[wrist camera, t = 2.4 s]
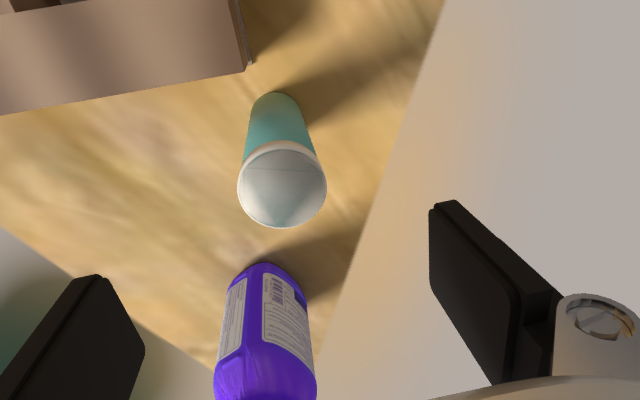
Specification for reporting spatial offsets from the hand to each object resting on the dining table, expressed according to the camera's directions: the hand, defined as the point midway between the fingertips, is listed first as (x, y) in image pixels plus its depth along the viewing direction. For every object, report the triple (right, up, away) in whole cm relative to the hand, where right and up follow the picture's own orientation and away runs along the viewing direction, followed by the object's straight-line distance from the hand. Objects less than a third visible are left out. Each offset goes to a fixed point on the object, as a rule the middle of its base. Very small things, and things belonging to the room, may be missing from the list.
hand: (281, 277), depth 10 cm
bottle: (-4, -6, +22) cm, 23 cm away
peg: (-2, +8, +15) cm, 17 cm away
